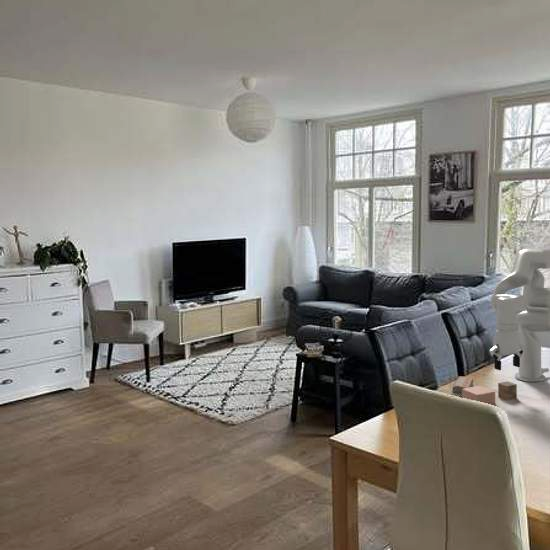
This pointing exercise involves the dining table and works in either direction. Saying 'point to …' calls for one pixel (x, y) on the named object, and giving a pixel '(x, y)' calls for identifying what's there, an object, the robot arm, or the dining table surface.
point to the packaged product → (461, 385)
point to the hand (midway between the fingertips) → (507, 367)
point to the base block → (479, 394)
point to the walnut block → (507, 390)
